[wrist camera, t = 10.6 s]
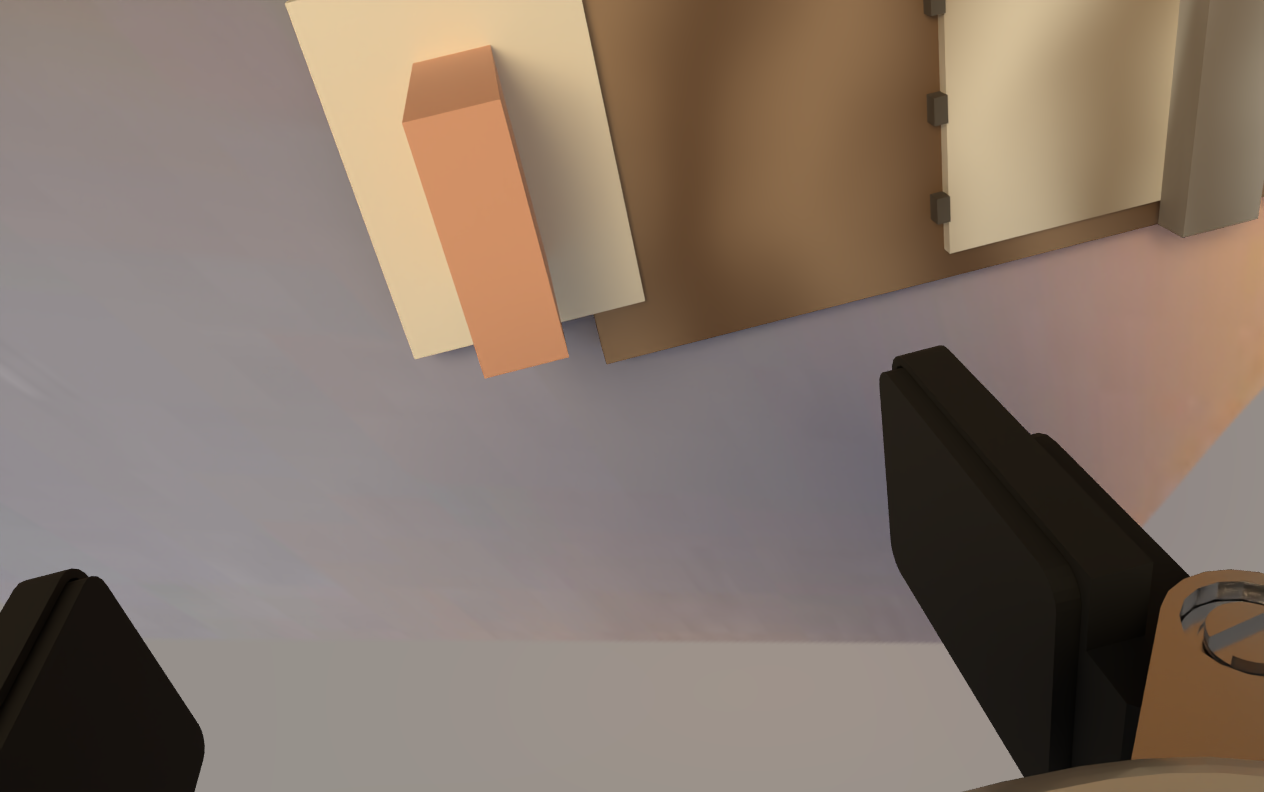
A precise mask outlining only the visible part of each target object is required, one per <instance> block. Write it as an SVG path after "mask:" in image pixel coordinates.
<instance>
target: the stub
mask: <svg viewBox="0 0 1264 792" xmlns="http://www.w3.org/2000/svg"><path fill="white" fill-rule="evenodd" d="M285 5H286V8H287V10H288V13H289V16H290V19H291V21H292V24H293V27H294V30H295V32H296V35H297V38H298V41H299V43H300V46H301V49H302V52H303V54H304V57H305V60H306V63H307V65H308V68H309V71H310V74H311V76H312V79H313V82H314V85H315V87H316V90H317V93H318V95H319V98H320V101H321V104H322V106H323V109H324V112H325V115H326V117H327V120H328V123H329V126H330V128H331V131H332V134H333V137H334V139H335V142H336V145H337V148H338V150H339V153H340V156H341V159H342V161H343V164H344V167H345V169H346V172H347V175H348V178H349V180H350V183H351V186H352V189H353V191H354V194H355V197H356V200H357V202H358V205H359V208H360V211H361V213H362V216H363V219H364V222H365V224H366V227H367V230H368V233H369V235H370V238H371V241H372V244H373V246H374V249H375V252H376V254H377V257H378V260H379V263H380V265H381V268H382V271H383V274H384V276H385V279H386V282H387V285H388V287H389V290H390V293H391V296H392V298H393V301H394V304H395V307H396V309H397V312H398V315H399V318H400V320H401V323H402V326H403V329H404V331H405V334H406V337H407V339H408V342H409V345H410V348H411V350H412V353H413V356H414V359H418V358H422V357H426V356H430V355H434V354H438V353H442V352H446V351H450V350H454V349H458V348H462V347H466V346H470V345H473V344H474V347H475V350H476V353H477V356H478V359H479V362H480V365H481V368H482V372H483V375H484V378H489V377H493V376H497V375H501V374H505V373H508V372H512V371H516V370H520V369H524V368H528V367H532V366H536V365H540V364H544V363H548V362H552V361H556V360H560V359H564V358H567V357H569V355H568V350H567V346H566V342H565V337H564V333H563V328H562V324H561V322H564V321H568V320H572V319H576V318H580V317H584V316H588V315H592V314H596V313H600V312H604V311H608V310H612V309H616V308H620V307H624V306H628V305H632V304H636V303H640V302H644V301H645V297H644V293H643V288H642V283H641V279H640V274H639V269H638V264H637V260H636V255H635V250H634V245H633V241H632V236H631V231H630V226H629V222H628V217H627V212H626V207H625V203H624V198H623V193H622V188H621V184H620V179H619V174H618V169H617V165H616V160H615V155H614V151H613V146H612V141H611V136H610V132H609V127H608V122H607V117H606V113H605V108H604V103H603V98H602V94H601V89H600V84H599V79H598V75H597V70H596V65H595V60H594V56H593V51H592V46H591V41H590V37H589V32H588V27H587V23H586V18H585V13H584V8H583V4H582V0H290V1H287V2H286V3H285Z"/></svg>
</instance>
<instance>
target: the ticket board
mask: <svg viewBox="0 0 1264 792" xmlns="http://www.w3.org/2000/svg"><path fill="white" fill-rule="evenodd" d="M582 4H583V8H584V13H585V18H586V23H587V27H588V32H589V37H590V41H591V46H592V51H593V56H594V60H595V65H596V70H597V75H598V79H599V84H600V89H601V94H602V98H603V103H604V108H605V113H606V117H607V122H608V127H609V132H610V136H611V141H612V146H613V151H614V155H615V160H616V165H617V169H618V174H619V179H620V184H621V188H622V193H623V198H624V203H625V207H626V212H627V217H628V222H629V226H630V231H631V236H632V241H633V245H634V250H635V255H636V260H637V264H638V269H639V274H640V279H641V283H642V288H643V293H644V297H645V301H644V302H640V303H636V304H632V305H628V306H624V307H620V308H616V309H612V310H608V311H604V312H600V313H596V314H594V318H595V322H596V326H597V330H598V334H599V338H600V342H601V346H602V350H603V353H604V357H605V360H606V363H607V364H610V363H614V362H617V361H621V360H625V359H629V358H633V357H637V356H641V355H645V354H649V353H653V352H657V351H661V350H665V349H668V348H672V347H676V346H680V345H684V344H688V343H692V342H696V341H700V340H704V339H708V338H712V337H716V336H719V335H723V334H727V333H731V332H735V331H739V330H743V329H747V328H751V327H755V326H759V325H763V324H767V323H770V322H774V321H778V320H782V319H786V318H790V317H794V316H798V315H802V314H806V313H810V312H814V311H817V310H821V309H825V308H829V307H833V306H837V305H841V304H845V303H849V302H853V301H857V300H861V299H865V298H868V297H872V296H876V295H880V294H884V293H888V292H892V291H896V290H900V289H904V288H908V287H912V286H916V285H919V284H923V283H927V282H931V281H935V280H939V279H943V278H947V277H951V276H955V275H959V274H963V273H967V272H970V271H974V270H978V269H982V268H986V267H990V266H994V265H998V264H1002V263H1006V262H1010V261H1014V260H1018V259H1021V258H1025V257H1029V256H1033V255H1037V254H1041V253H1045V252H1049V251H1053V250H1057V249H1061V248H1065V247H1068V246H1072V245H1076V244H1080V243H1084V242H1088V241H1092V240H1096V239H1100V238H1104V237H1108V236H1112V235H1116V234H1119V233H1123V232H1127V231H1131V230H1135V229H1139V228H1143V227H1147V226H1151V225H1155V224H1159V225H1160V226H1162V227H1164V228H1166V229H1168V230H1170V231H1171V232H1173V233H1175V234H1177V235H1179V236H1181V237H1183V238H1184V237H1188V236H1192V235H1196V234H1200V233H1204V232H1208V231H1212V230H1215V229H1219V228H1223V227H1227V226H1231V225H1235V224H1239V223H1243V222H1247V221H1251V220H1255V219H1258V215H1259V209H1260V202H1261V197H1264V0H582Z"/></svg>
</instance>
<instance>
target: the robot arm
mask: <svg viewBox="0 0 1264 792" xmlns="http://www.w3.org/2000/svg"><path fill="white" fill-rule="evenodd" d="M880 399H881V413H882V426H883V440H884V454H885V468H886V481H887V495H888V509H889V522H890V536H891V546H892V551H893V555H894V558H895V561H896V564H897V566H898V569H899V571H900V573H901V575H902V576H903V578H904V579H905V581H906V583H907V584H908V586H909V588H910V589H911V591H912V593H913V594H914V596H915V598H916V599H917V601H918V603H919V604H920V606H921V608H922V609H923V611H924V613H925V614H926V616H927V618H928V619H929V621H930V622H931V624H932V626H933V627H934V629H935V631H936V632H937V634H938V636H939V637H940V639H941V641H942V642H943V644H944V646H945V647H946V649H947V650H948V652H949V654H950V655H951V657H952V659H953V660H954V662H955V664H956V665H957V667H958V669H959V670H960V672H961V674H962V675H963V677H964V679H965V680H966V682H967V684H968V685H969V687H970V688H971V690H972V692H973V694H974V695H975V697H976V699H977V700H978V702H979V703H980V705H981V707H982V708H983V710H984V712H985V713H986V715H987V717H988V718H989V720H990V722H991V723H992V725H993V727H994V728H995V730H996V732H997V733H998V735H999V737H1000V738H1001V740H1002V741H1003V743H1004V745H1005V747H1006V748H1007V750H1008V751H1009V753H1010V755H1011V756H1012V758H1013V760H1014V761H1015V763H1016V765H1017V766H1018V768H1019V770H1020V771H1021V773H1022V775H1023V776H1024V778H1019V779H1014V780H1010V781H1004V782H1000V783H996V784H992V785H988V786H984V787H980V788H976V789H972V790H968V791H964V792H1264V574H1263V573H1260V572H1251V571H1242V570H1232V569H1230V570H1218V571H1207V572H1203V573H1200V574H1197V575H1194V576H1191V577H1190V576H1189V575H1188V574H1187V573H1186V572H1185V571H1184V570H1183V569H1182V568H1181V567H1180V566H1179V565H1178V564H1177V563H1176V562H1175V561H1174V560H1173V559H1172V558H1171V557H1170V556H1169V555H1168V554H1167V553H1166V552H1165V551H1164V550H1163V549H1162V548H1161V547H1160V546H1159V545H1158V544H1157V543H1156V542H1155V541H1154V540H1153V539H1152V538H1151V537H1150V536H1149V535H1148V534H1147V533H1146V532H1145V531H1144V530H1143V529H1142V528H1141V527H1140V526H1139V525H1138V524H1137V523H1136V522H1135V521H1134V520H1133V519H1132V518H1131V517H1130V516H1129V515H1128V514H1127V513H1126V512H1125V511H1124V510H1123V509H1122V508H1121V507H1120V506H1119V505H1118V504H1117V503H1116V502H1115V501H1114V500H1113V499H1112V498H1111V497H1110V496H1109V495H1108V494H1107V493H1106V492H1105V491H1104V490H1103V489H1102V488H1101V487H1100V485H1099V484H1098V483H1097V482H1096V481H1095V480H1094V479H1093V478H1092V477H1091V476H1090V475H1089V474H1088V473H1087V472H1086V471H1085V470H1084V469H1083V468H1082V467H1081V466H1080V465H1079V464H1078V463H1077V462H1076V461H1075V460H1074V459H1073V458H1072V457H1071V456H1070V455H1069V454H1068V453H1067V452H1066V451H1065V450H1064V449H1063V448H1062V447H1061V446H1060V445H1059V444H1058V443H1057V442H1056V441H1054V440H1053V439H1052V438H1050V437H1049V436H1048V435H1046V434H1041V433H1036V434H1032V435H1030V434H1029V433H1028V431H1027V430H1026V429H1025V428H1024V427H1023V426H1022V425H1021V424H1020V423H1019V422H1018V421H1017V420H1016V419H1015V418H1014V417H1013V416H1012V415H1011V414H1010V413H1009V412H1008V411H1007V410H1006V409H1005V408H1004V407H1003V406H1002V404H1001V403H1000V402H999V401H998V400H997V399H996V398H995V397H994V396H993V395H992V394H991V393H990V392H989V391H988V390H987V389H986V388H985V387H984V386H983V385H982V384H981V383H980V382H979V381H978V380H977V379H976V378H975V376H974V375H973V374H972V373H971V372H970V371H969V370H968V369H967V368H966V367H965V366H964V365H963V364H962V363H961V362H960V361H959V360H958V359H957V358H956V357H955V356H954V355H953V354H952V353H951V352H950V351H949V349H947V348H946V347H945V346H935V347H932V348H928V349H924V350H920V351H916V352H912V353H908V354H904V355H900V356H897V357H895V359H894V360H893V364H892V370H891V371H887V372H883V373H882V374H881V375H880ZM204 747H205V745H204V738H203V734H202V731H201V728H200V726H199V724H198V723H197V721H196V720H195V718H194V717H193V715H192V714H191V712H190V711H189V709H188V708H187V706H186V705H185V703H184V702H183V700H182V699H181V697H180V696H179V694H178V693H177V691H176V689H175V688H174V686H173V685H172V683H171V682H170V680H169V679H168V677H167V676H166V674H165V673H164V671H163V670H162V668H161V667H160V665H159V664H158V662H157V661H156V659H155V657H154V656H153V654H152V653H151V651H150V650H149V649H148V647H147V645H146V644H145V642H144V641H143V639H142V638H141V636H140V635H139V633H138V632H137V630H136V629H135V627H134V626H133V624H132V623H131V621H130V620H129V618H128V616H127V615H126V613H125V612H124V610H123V609H122V607H121V606H120V604H119V603H118V601H117V600H116V598H115V597H114V595H113V594H112V592H111V591H110V589H109V588H108V586H107V585H106V584H105V582H104V581H103V580H102V579H100V578H99V577H96V576H91V577H88V576H87V575H86V574H85V573H84V572H82V571H81V570H79V569H68V570H64V571H60V572H57V573H53V574H49V575H45V576H41V577H37V578H33V579H29V580H26V581H23V582H21V583H19V584H18V585H17V587H16V588H15V589H14V590H13V592H12V594H11V595H10V597H9V599H8V600H7V602H6V604H5V605H4V607H3V609H2V610H1V612H0V792H194V791H195V788H196V784H197V780H198V777H199V773H200V770H201V766H202V762H203V758H204Z"/></svg>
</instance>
